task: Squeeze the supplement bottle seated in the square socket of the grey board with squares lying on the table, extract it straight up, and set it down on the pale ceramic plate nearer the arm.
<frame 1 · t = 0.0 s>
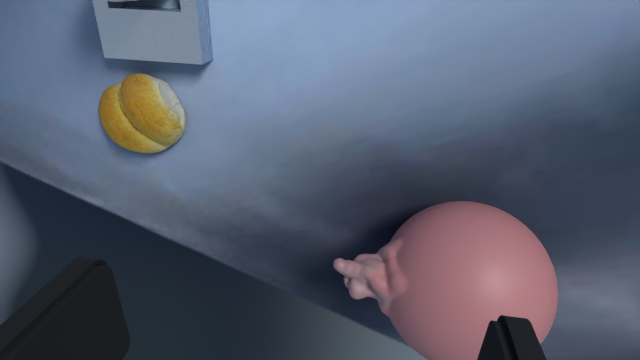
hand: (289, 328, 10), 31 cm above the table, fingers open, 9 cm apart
bread roll: (150, 110, 43), on the table
balloon: (431, 228, 44), on the table
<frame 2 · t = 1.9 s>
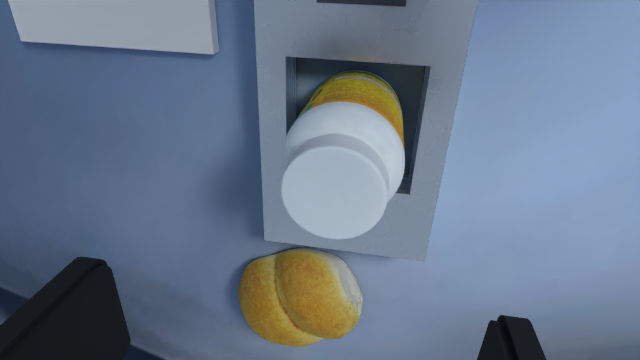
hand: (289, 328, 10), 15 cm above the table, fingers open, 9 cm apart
bread roll: (304, 283, 30), on the table
grey board with squares: (361, 41, 21), on the table
supplement bottle: (355, 112, 23), resting in grey board with squares
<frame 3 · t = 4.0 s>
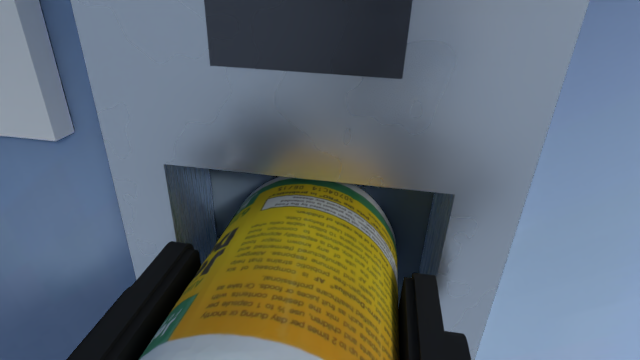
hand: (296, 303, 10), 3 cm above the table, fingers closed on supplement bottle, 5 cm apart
grey board with squares: (319, 123, 11), on the table
supplement bottle: (316, 234, 13), resting in grey board with squares, touching gripper
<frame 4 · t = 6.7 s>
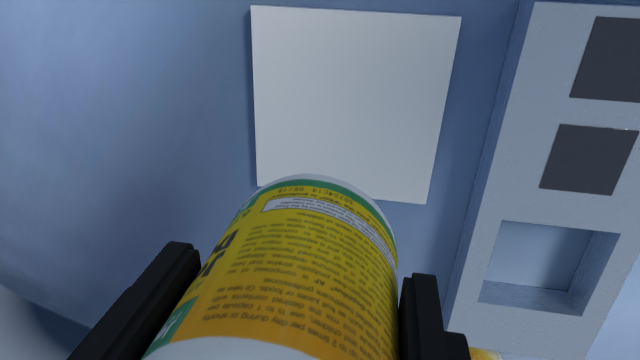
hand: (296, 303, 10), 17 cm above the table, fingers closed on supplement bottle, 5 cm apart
plate: (346, 109, 26), on the table
grey board with squares: (548, 199, 26), on the table
supplement bottle: (316, 236, 13), point 14 cm above the table, touching gripper
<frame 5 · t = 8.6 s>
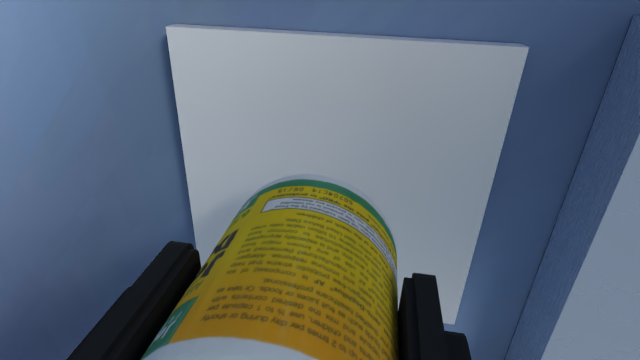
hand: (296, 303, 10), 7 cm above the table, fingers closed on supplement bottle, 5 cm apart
plate: (331, 185, 16), on the table
supplement bottle: (316, 236, 13), point 4 cm above the table, touching gripper
when the fingers open (5 cm above the table, at t = 9.8 s): supplement bottle drops 1 cm, resting on plate.
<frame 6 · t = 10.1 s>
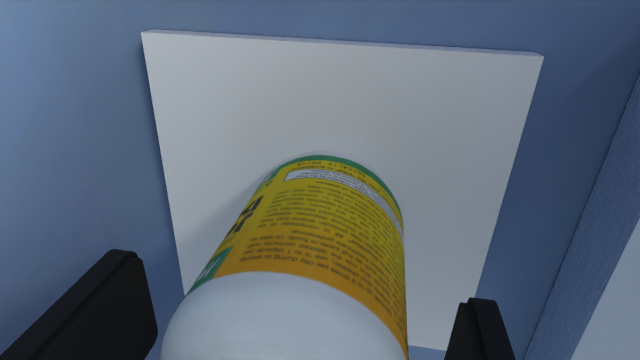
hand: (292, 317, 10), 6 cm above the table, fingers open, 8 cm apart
plate: (325, 204, 15), on the table
supplement bottle: (329, 210, 14), point 1 cm above the table, touching plate
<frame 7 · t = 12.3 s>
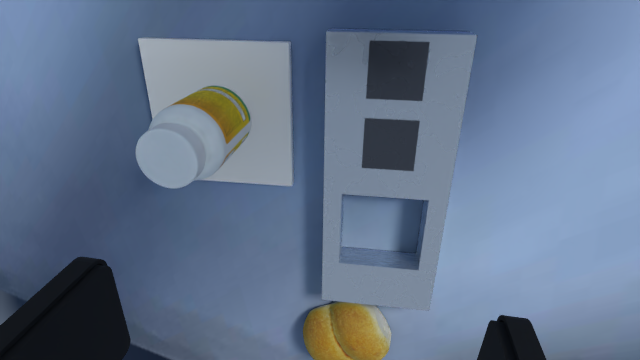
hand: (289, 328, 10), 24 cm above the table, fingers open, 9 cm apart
plate: (222, 114, 33), on the table
bread roll: (348, 323, 42), on the table
grey board with squares: (384, 178, 34), on the table
supplement bottle: (222, 115, 33), point 1 cm above the table, touching plate
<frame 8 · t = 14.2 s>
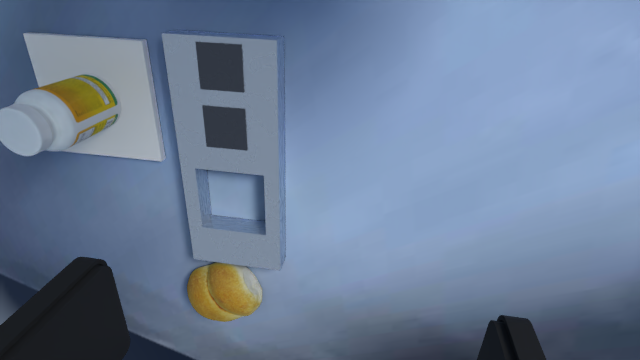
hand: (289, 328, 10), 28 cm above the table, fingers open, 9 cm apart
plate: (101, 98, 40), on the table
bread roll: (229, 282, 49), on the table
grey board with squares: (237, 157, 40), on the table
supplement bottle: (99, 99, 39), point 1 cm above the table, touching plate
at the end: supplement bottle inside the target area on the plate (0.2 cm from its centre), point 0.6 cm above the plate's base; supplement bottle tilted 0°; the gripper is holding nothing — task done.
